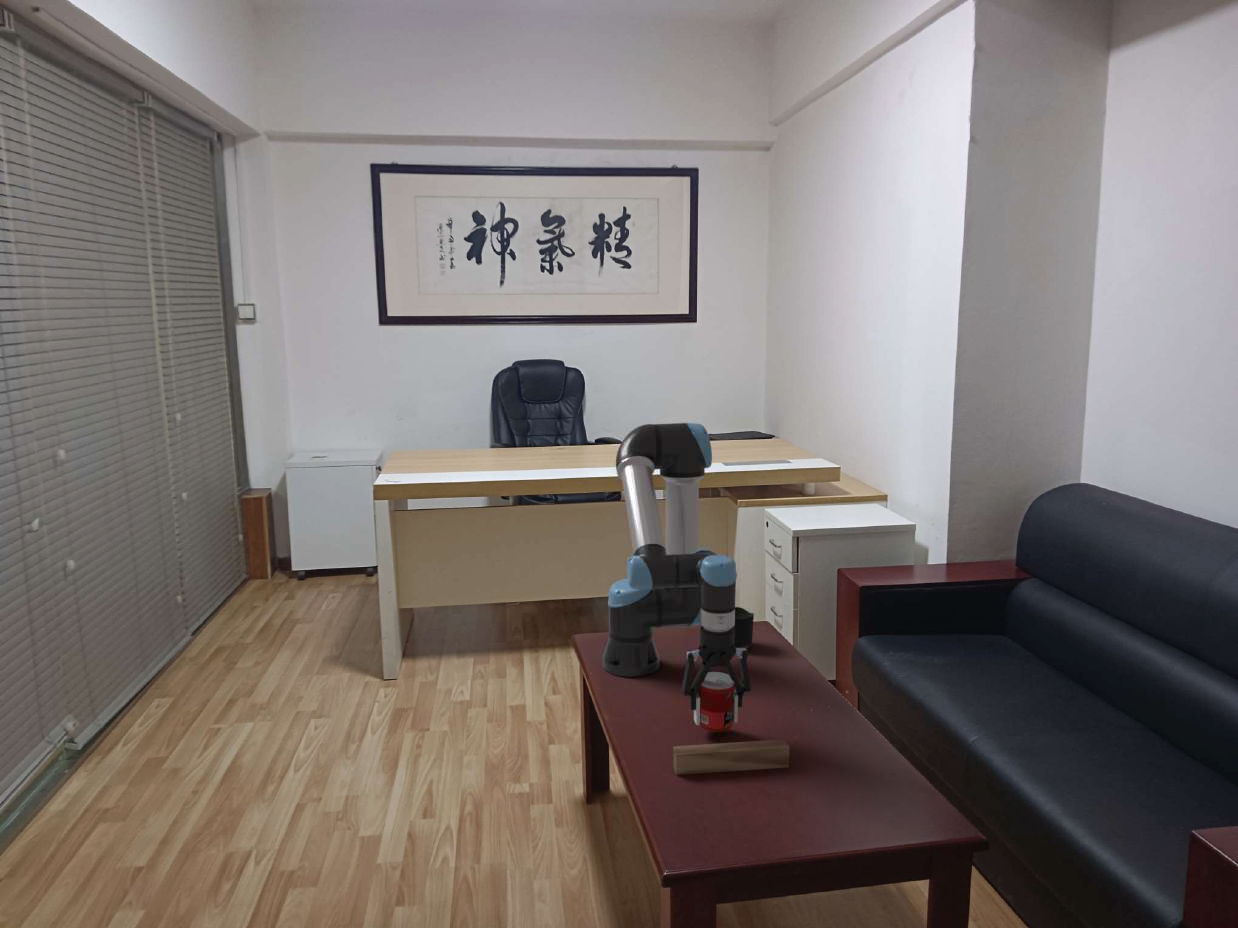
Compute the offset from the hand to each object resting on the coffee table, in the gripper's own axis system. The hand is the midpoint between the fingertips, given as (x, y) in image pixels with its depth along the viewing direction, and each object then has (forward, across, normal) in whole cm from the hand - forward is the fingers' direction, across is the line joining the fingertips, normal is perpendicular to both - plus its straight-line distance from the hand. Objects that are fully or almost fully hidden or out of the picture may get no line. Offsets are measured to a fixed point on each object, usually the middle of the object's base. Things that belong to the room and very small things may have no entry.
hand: (715, 720), depth 201 cm
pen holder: (+4, +17, +48) cm, 51 cm away
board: (+3, 0, -15) cm, 15 cm away
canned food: (+1, 0, 0) cm, 1 cm away
